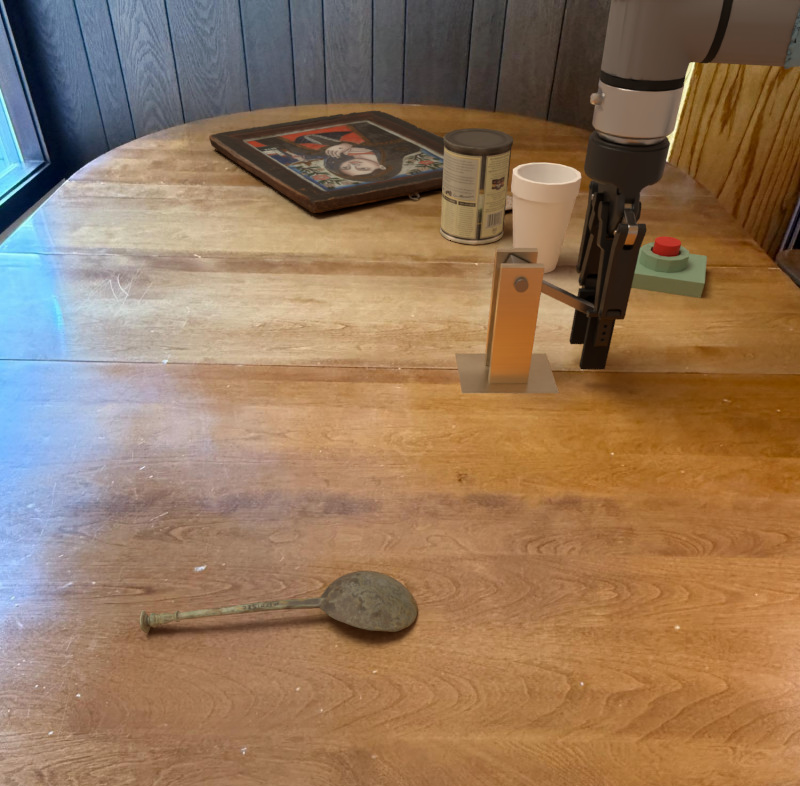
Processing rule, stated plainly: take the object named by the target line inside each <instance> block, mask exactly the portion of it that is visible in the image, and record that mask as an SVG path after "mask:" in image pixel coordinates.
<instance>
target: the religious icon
mask: <svg viewBox="0 0 800 786" xmlns="http://www.w3.org/2000/svg"><path fill="white" fill-rule="evenodd" d="M208 139H209V141H210V145H211V147H213V148H214V149H215V150H217V151H218V152H220V153H221V154H223V155H224V156H226V157H227V158H229V159H230V160H231V161H233V162H234V163H236V164H238V165H239V166H241V168H243V169H244V170H246V171H248V172H250V173H252V174H253V175H254V176H256V177H258V178H260V179H261V180H262V181H263V182H264V183H267V184H268V185H270V186H272V188H274V189H275V190H276V191H278V192H280V193H281V194H282V195H284V196H285V197H287V198H288V199H290V200H293V202H295V203H296V204H298V205H300V206H301V207H302V208H304V209H306V210H307V211H309V212H310V213H312V214H317V213H319V214H320V213H324V212H331V211H334V210H340V209H345V208H351V207H355V206H361V205H365V204H370V203H376V202H380V201H386V200H391V199H395V198H400V197H408V198H409V199H411V200H419V199H420V197H421V196H420V193H423V192H429V191H434V190H439V189H442V186H443V163H444V137H442V136H440V135H438V134H436V133H433V132H431V131H428V130H426V129H423V128H421V127H418V126H417V125H415V124H412V123H411V122H408V121H406V120H403V119H402V118H400V117H396V116H395V115H393V114H391V113H387V112H384V111H381V110H366V111H359V112H350V113H345V114H343V113H338V114H333V115H332V114H331V115H329V116H327V115H324V116H318V117H311V118H305V119H299V120H292V121H287V122H280V123H273V124H268V125H263V126H254V127H249V128H242V129H237V130H229V131H223V132H217V133H212V134H209V136H208Z"/></svg>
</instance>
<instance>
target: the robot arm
mask: <svg viewBox="0 0 800 786" xmlns="http://www.w3.org/2000/svg"><path fill="white" fill-rule="evenodd" d="M609 7H610V8H609V14H608V20H607V26H606V32H605V40H604V46H603V47H604V48H603V53H602V60H601V64H600V65H601V66H600V72H599V79H598V84H597V87H598V89H597V92H593V93H591V95H589V96H590V97H589V98H590V100H589V102H590V104H591V105H593V106H594V110H593V116H592V122H591V125H592V127H593V128H594V129H595V130H593V131H592V133H591V134H590V135H588V142H587V147H586V154H585V160H584V165H583V169H584V171H583V172H584V173H585V175H586V177H587V178H589V179H590V182H589V184H588V197H587V206H586V212H585V218H584V223H583V229H582V234H581V240H580V246H579V251H578V256H577V262H576V266H575V271H576V274H578V275H579V276H578V279H577V280H578V281H577V282H578V285H579V288H578V290H577V296H578V297H580V298H582V299H584V300H585V299H586V298H587V297H588V296H595V303H594V309H593V310H587V311H586V314H585V313H583V312H581V311H579V310H577V309H575V308H574V313H573V319H572V324H571V330H570V336H569V344H570V345H582V350H581V355H580V360H579V369H580V370H605V369H606V365H607V361H608V356H609V352H610V347H611V343H612V338H613V333H614V329H615V324H616V320H617V321H618V320H620V321H621V320H622V321H623V320H625V318H626V315H627V309H628V304H629V300H630V295H631V290H632V288H631V287H632V282H633V278H634V273H635V269H636V264H637V260H638V255H639V250H640V247H642V246H643V245H642V244H643V243H644V239H645V236H646V234H647V224H646V223H638V222H639V220H640V218H641V213H642V201H641V192H642V190H644V189H645V188H647V187H650V186H653V185H655V184H658V183H659V182H660V181H661V179H662V178H663V175H664V171H665V168H666V163H667V159H668V155H669V150H670V146H671V142H670V140H669V138H668V136H669V135H671V134H673V132H674V131H675V127H676V123H677V119H678V115H679V112H680V111H679V110H680V106H681V101H682V97H683V93H684V88H685V81H686V77H687V76H686V75H687V72H688V69H689V66H690V63H691V64H692V63H699V64H724V65H743V66H744V65H745V66H766V67H782V68H783V69H785V70H789V69H791V68H797V67H798V68H799V67H800V0H611V1H610V6H609Z"/></svg>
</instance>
